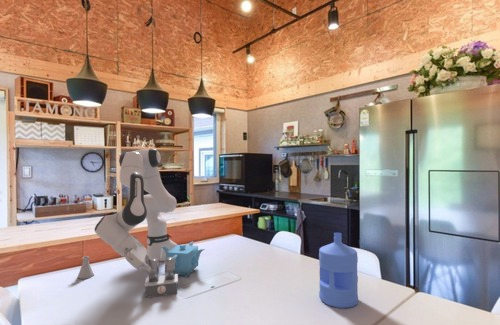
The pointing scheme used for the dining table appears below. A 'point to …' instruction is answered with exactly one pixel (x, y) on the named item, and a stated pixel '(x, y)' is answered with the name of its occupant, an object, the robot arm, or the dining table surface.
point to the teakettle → (184, 258)
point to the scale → (161, 286)
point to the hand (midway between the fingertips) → (150, 265)
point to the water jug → (338, 274)
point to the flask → (85, 269)
